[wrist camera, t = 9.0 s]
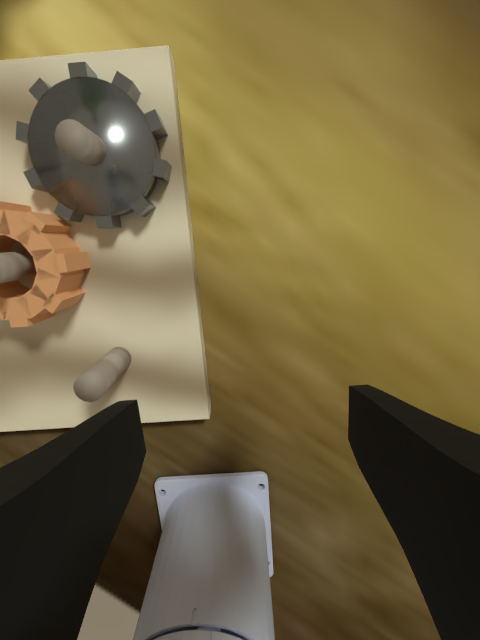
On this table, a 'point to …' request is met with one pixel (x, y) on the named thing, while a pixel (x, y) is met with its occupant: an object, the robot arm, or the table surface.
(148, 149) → the gear
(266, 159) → the table surface
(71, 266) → the idler gear
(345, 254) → the table surface
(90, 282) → the gear board
